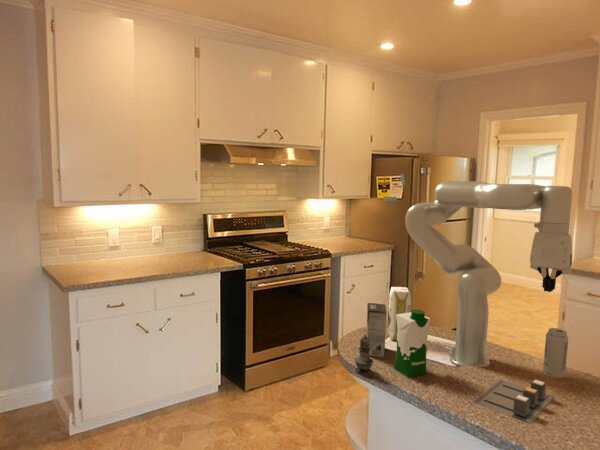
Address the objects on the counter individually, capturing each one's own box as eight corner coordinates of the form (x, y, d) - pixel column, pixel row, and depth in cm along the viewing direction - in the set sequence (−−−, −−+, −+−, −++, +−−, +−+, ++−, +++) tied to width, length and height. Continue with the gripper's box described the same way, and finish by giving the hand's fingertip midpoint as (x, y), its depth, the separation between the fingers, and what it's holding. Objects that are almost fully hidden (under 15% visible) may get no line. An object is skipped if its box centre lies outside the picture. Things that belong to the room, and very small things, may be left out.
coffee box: (365, 346, 163) (367, 302, 162) (383, 347, 163) (385, 303, 161) (365, 355, 154) (367, 310, 153) (384, 357, 154) (386, 311, 152)
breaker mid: (521, 403, 121) (522, 389, 120) (526, 399, 123) (527, 385, 123) (533, 408, 119) (534, 394, 118) (538, 403, 121) (539, 389, 121)
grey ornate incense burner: (350, 368, 144) (352, 332, 142) (366, 366, 146) (368, 330, 145) (360, 376, 138) (361, 338, 137) (376, 373, 141) (378, 336, 139)
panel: (471, 406, 122) (471, 401, 122) (499, 383, 136) (500, 379, 136) (530, 428, 112) (530, 424, 112) (554, 401, 126) (555, 397, 126)
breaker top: (529, 395, 125) (530, 382, 125) (533, 391, 128) (535, 378, 128) (541, 399, 123) (542, 386, 123) (545, 395, 126) (546, 382, 126)
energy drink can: (543, 371, 146) (547, 326, 144) (564, 375, 143) (569, 329, 141) (542, 378, 140) (546, 331, 139) (564, 383, 137) (568, 335, 136)
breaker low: (512, 412, 116) (513, 398, 116) (517, 407, 119) (518, 393, 118) (524, 417, 114) (526, 402, 114) (529, 411, 117) (530, 397, 116)
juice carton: (406, 334, 177) (408, 286, 174) (409, 342, 168) (412, 292, 166) (386, 333, 177) (389, 285, 175) (389, 341, 169) (391, 291, 167)
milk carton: (408, 379, 137) (411, 315, 135) (389, 367, 145) (392, 307, 143) (430, 374, 141) (434, 312, 139) (411, 363, 149) (414, 304, 147)
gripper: (521, 227, 133) (516, 288, 135) (579, 232, 122) (573, 298, 124) (531, 225, 138) (526, 284, 140) (587, 230, 127) (581, 294, 130)
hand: (548, 290), depth 132 cm, fingers closed
